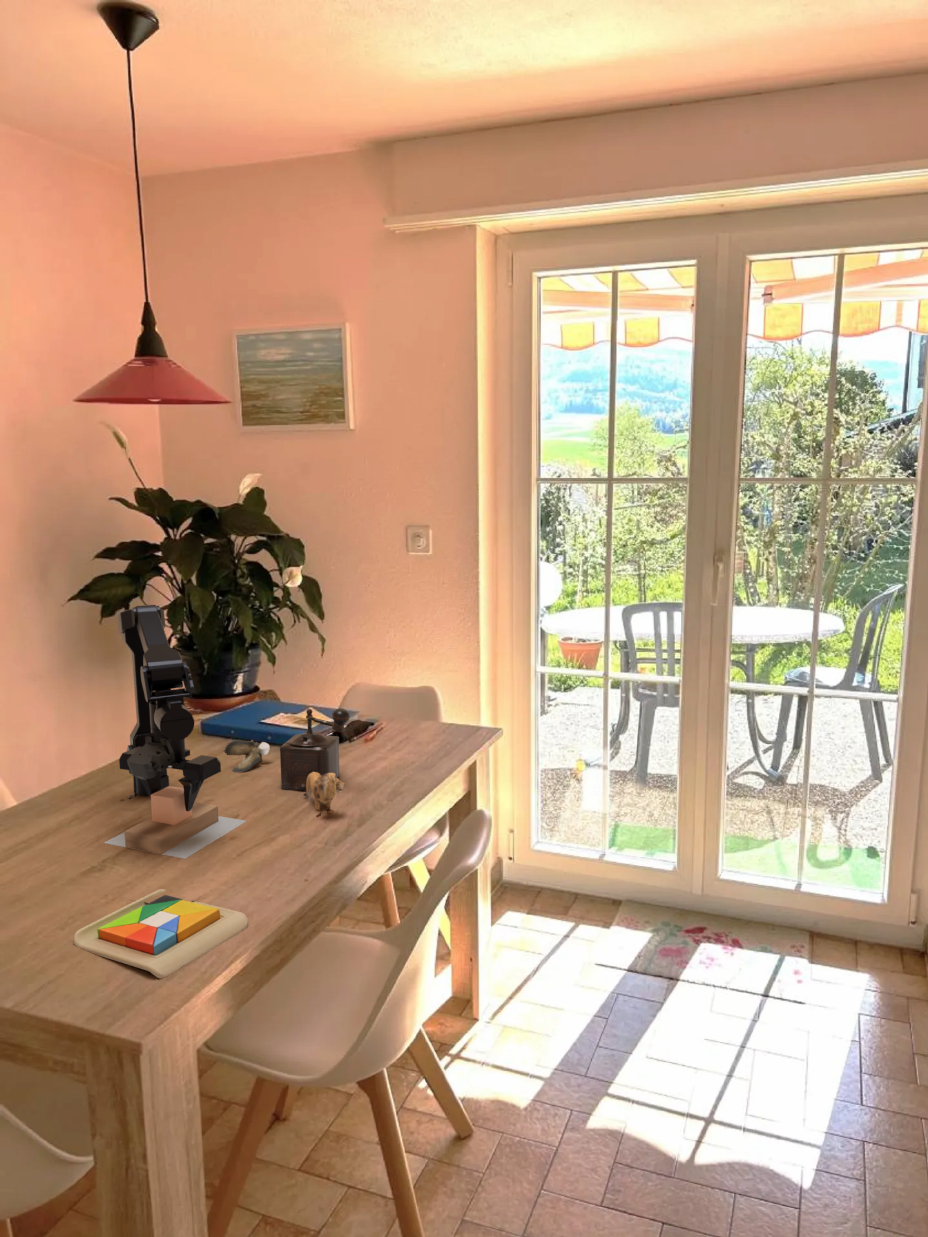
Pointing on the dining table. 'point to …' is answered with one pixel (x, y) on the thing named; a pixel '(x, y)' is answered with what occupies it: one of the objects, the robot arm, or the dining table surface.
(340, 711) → the manual coffee grinder
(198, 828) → the plinth
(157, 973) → the wooden puzzle
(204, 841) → the build board
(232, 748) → the eagle figurine
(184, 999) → the dining table surface
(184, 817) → the cap block
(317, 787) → the lion figurine
